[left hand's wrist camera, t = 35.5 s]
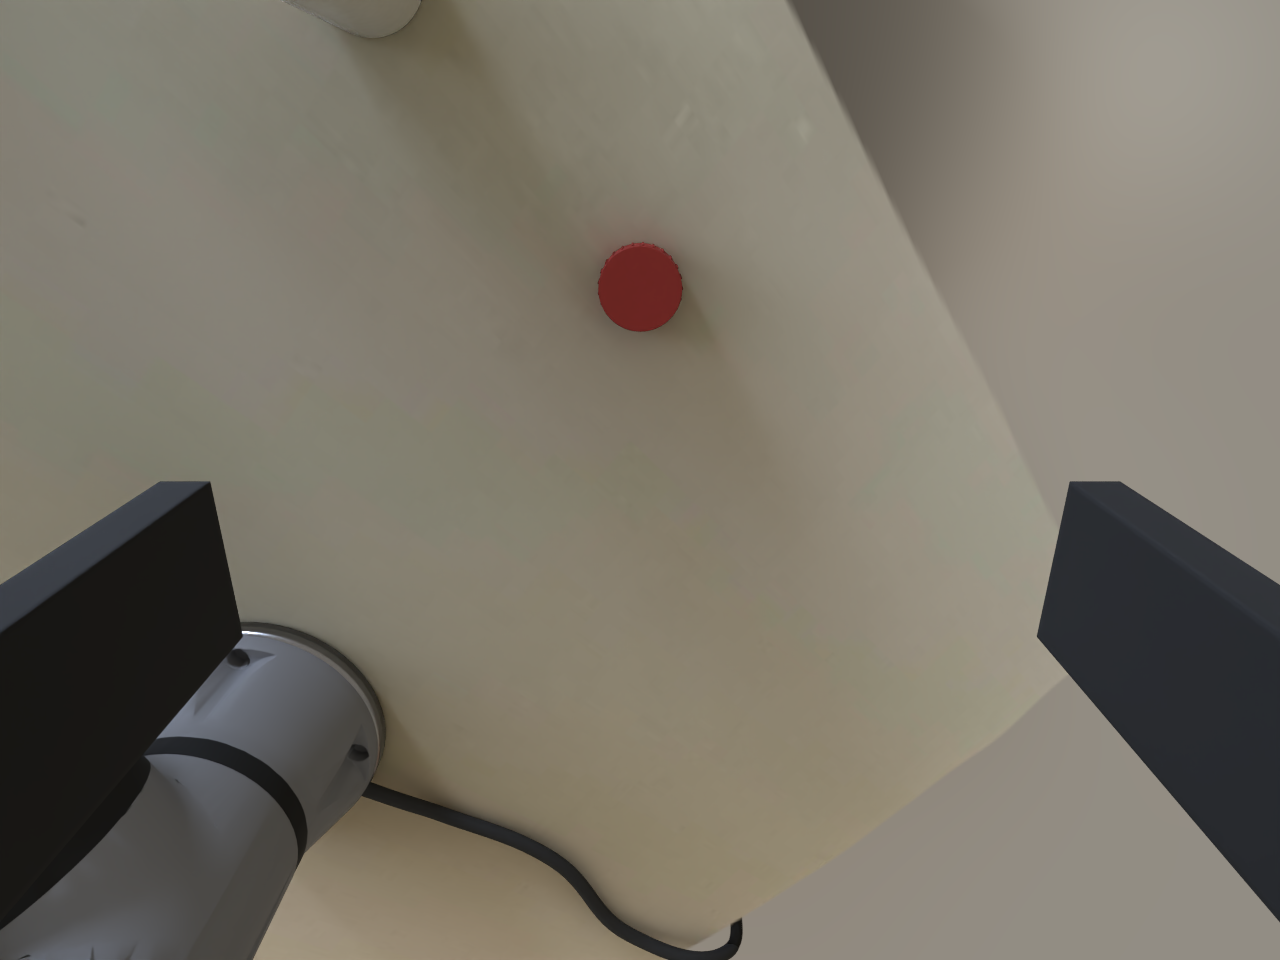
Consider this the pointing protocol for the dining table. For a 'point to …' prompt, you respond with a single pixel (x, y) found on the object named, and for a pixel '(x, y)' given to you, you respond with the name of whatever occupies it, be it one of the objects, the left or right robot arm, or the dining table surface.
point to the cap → (640, 287)
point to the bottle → (361, 14)
